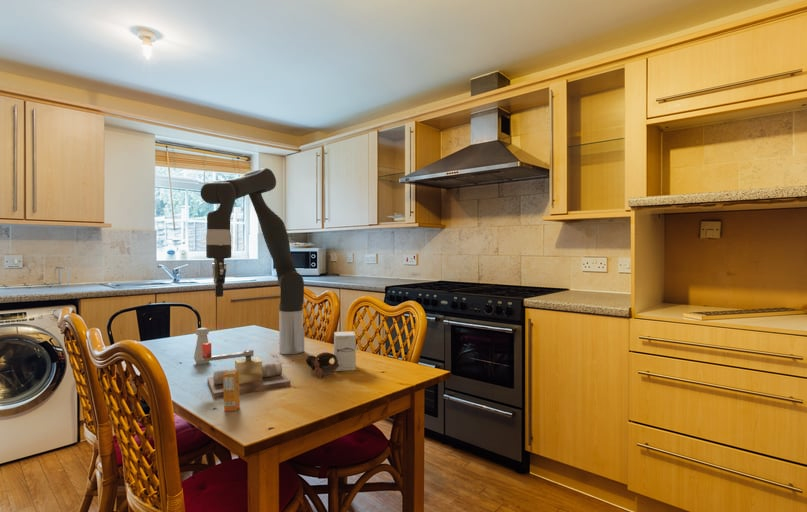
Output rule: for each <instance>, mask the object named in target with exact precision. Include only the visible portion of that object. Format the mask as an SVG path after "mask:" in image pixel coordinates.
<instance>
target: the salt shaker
mask: <svg viewBox="0 0 807 512" xmlns="http://www.w3.org/2000/svg"><path fill="white" fill-rule="evenodd" d="M209 331H210V330H209V328H207V327H199V328H197V329H196V331H195V335H196V336H197V340H196V344H195V349H194V356H193V359H194V361H195V363H196V365H198V364H203V365H207V364H209V363H210V361H205V362H203V358H202V344H203V343H210V342H209V338H208V335H209Z"/></svg>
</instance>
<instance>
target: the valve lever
mask: <svg viewBox="0 0 807 512" xmlns="http://www.w3.org/2000/svg"><path fill="white" fill-rule="evenodd" d="M254 353H255V352H254V349H245V350H243V351H241V352H239V351H237V352H232V353H231V352H230V353H224V354H214V355H212V343H211V342H209V343H203V344H202V358H203V362H205V361H209V362H211V361H218V360H220V361H221V360H228V359H236V358H243V357H244V358H246V357H251V358H253V356H254Z"/></svg>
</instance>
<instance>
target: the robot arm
mask: <svg viewBox="0 0 807 512" xmlns="http://www.w3.org/2000/svg"><path fill="white" fill-rule="evenodd" d="M276 186H277V179H276V175H275V174H274V172H273V171H272V170H271V169H270V168H267V167H262V168H259V169H256V170H255V169H254V170H252V171H248V172H246V173H245V174H244V176H237V177H234V178H233V177H232V178H228V179H225V180H218V181H217V180H216V181H209V182H206V183H205V184H203V185H202V186H201V188H200V193H199V194H200V196H201V199H202V200H203V201H204V202H205V203H206V204H209V205H219V207H218V208H217V209H216V210H213V211H209V212H207V214H206V215H207V216H206V236H205V239H206V240H205V241H206V242H205V246H206V247H205V248H206V251H205V252H206V259H213V263H211V269H212V277H213V284H214V288H215V289H214V291H215V292H214V294H215V297H217V298H221V297H223V296H224V286H225V282H226V275H227V263H225V259H231V258H232V232H231V217H232V213H233V209H234V205H235V201H236V200H237V199H241V198H242V197H246V196H249V199H250V201H251V202H250V203H252V207H253V208H254V211H255V214H256V217H257V220H258V223H259V225H260V229H261V232H262V237H263V238H264V242H265V244H266V247H267V250H268V252H269V255H270V257H271V259H272V261H273V265H274V268H275V272H276V278H277V282H278V286H279V289H280V299H279V300H280V301H279V305H278V306H279V307H278V309H279V310H278V311H279V314H278V316H279V317H278V318H279V322H278V323H279V325H278V326H279V330H278V331H279V337H278V338H279V346H278V347H279V353H280V354H281V355H299V354H301V353H304V352H305V328H304V326H303V321H304V320H303V319H304V318H303V316H304V315H303V313H304V311H303V310H304V302H305V301H304V300H305V299H304V297H305V282H304V281H305V280H304V278H303V276H302V274H300V272H298V271H297V270H296V267H295V264H294V261H293V259H292V255H291V247H290V245H291V244H290V239H289V235H288V231H287V228H286V225H285V222H284V221H283V219H281V217H279V215H277V213H275V211H273V210H272V209H271V208H270V207H269V206H268V204H267V203H266V202H265V200H264V197H263V195H262V194H264V193H267V192H271V191H273V190H274V189H275V188H276Z"/></svg>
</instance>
